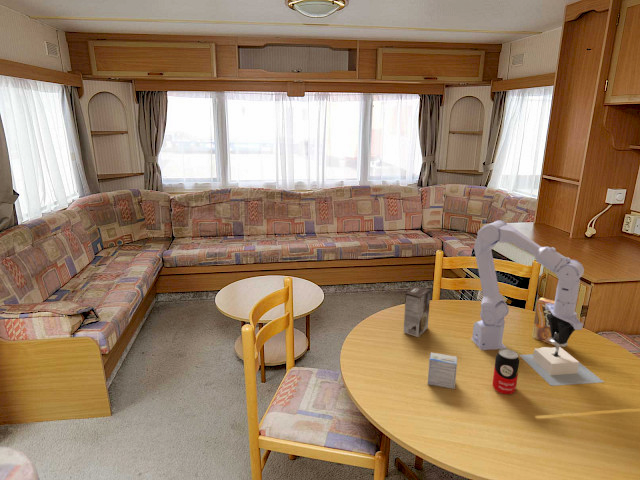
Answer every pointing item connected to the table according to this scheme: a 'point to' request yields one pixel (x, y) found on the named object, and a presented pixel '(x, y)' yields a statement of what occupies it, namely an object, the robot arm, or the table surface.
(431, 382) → the medicine box
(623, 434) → the table surface
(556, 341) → the plunger
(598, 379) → the board
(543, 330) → the candy box
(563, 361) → the box
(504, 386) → the beverage can
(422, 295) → the coffee box
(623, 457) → the table surface
